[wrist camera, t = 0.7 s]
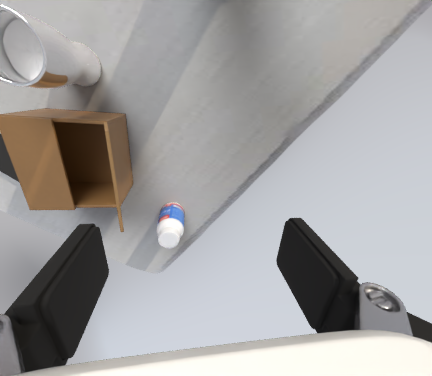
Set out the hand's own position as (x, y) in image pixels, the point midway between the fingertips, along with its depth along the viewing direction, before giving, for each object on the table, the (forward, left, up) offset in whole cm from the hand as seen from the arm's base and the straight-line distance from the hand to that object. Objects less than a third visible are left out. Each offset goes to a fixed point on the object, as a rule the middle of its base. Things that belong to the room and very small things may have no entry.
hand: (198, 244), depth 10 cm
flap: (+5, -11, -19) cm, 22 cm away
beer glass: (-9, -18, -32) cm, 38 cm away
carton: (+5, -18, -32) cm, 37 cm away
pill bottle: (+19, -4, -32) cm, 38 cm away
